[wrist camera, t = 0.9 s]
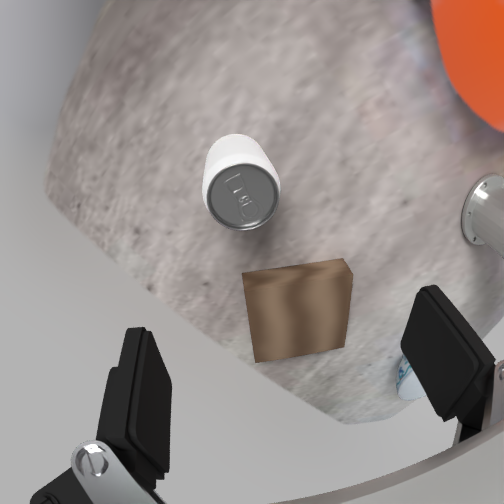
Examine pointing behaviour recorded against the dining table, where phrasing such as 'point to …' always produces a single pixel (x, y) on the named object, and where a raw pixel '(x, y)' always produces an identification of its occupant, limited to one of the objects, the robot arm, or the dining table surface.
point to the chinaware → (408, 382)
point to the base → (298, 309)
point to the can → (240, 183)
